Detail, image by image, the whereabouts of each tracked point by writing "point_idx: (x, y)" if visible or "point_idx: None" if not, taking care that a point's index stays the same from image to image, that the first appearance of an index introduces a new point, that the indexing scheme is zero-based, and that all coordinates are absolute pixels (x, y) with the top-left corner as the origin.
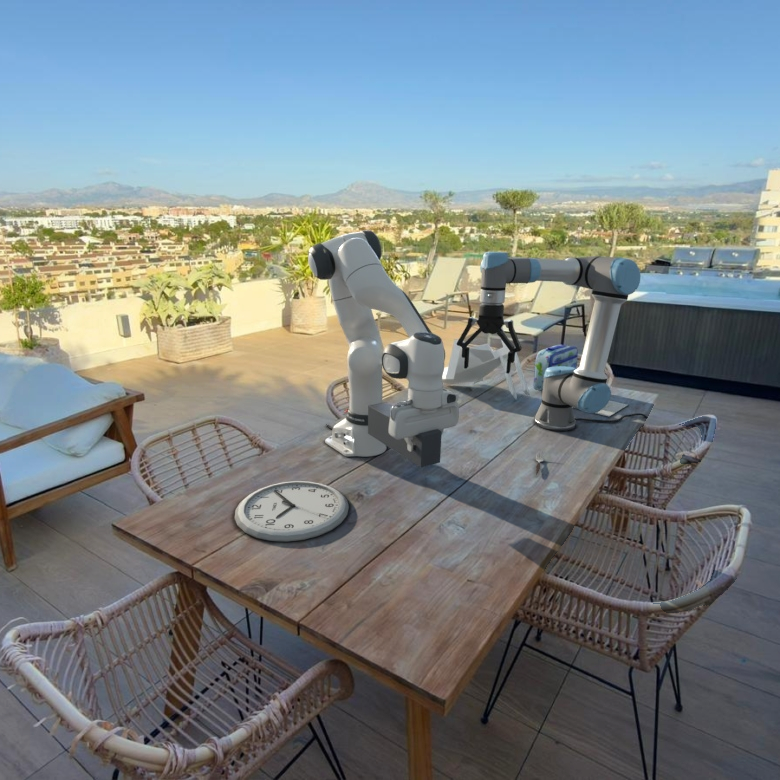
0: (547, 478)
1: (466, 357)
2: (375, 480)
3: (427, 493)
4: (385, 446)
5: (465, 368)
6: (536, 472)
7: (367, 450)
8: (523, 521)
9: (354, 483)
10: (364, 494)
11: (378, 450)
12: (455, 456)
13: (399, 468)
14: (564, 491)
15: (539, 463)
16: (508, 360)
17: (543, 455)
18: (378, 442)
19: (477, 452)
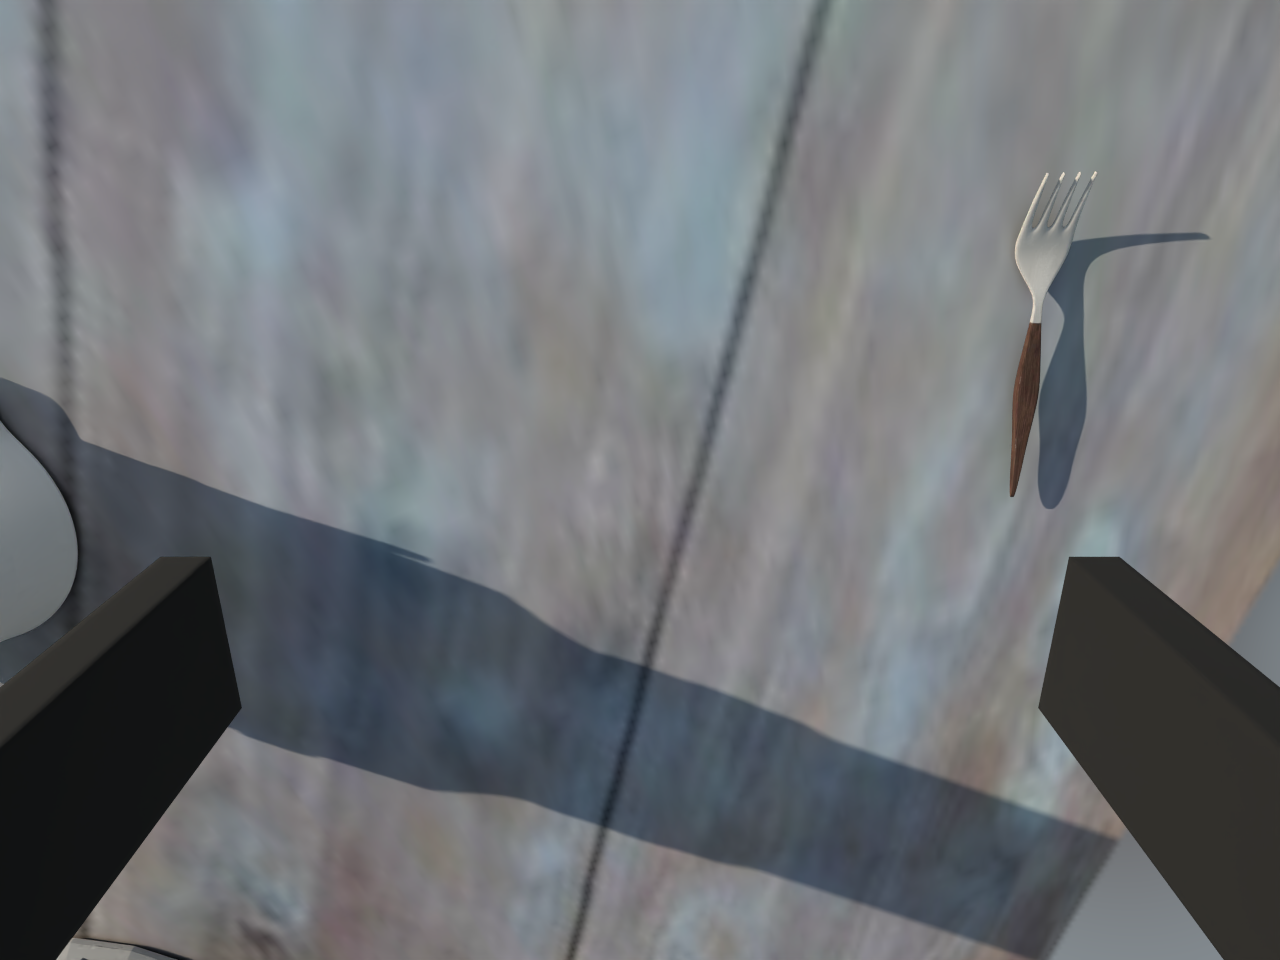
0: (1069, 485)
1: (88, 893)
2: (240, 819)
3: (510, 837)
4: (44, 505)
5: (224, 707)
6: (1013, 477)
7: (4, 637)
8: (939, 888)
9: (174, 872)
10: (271, 928)
11: (51, 587)
12: (495, 409)
13: (272, 676)
14: None
15: (1039, 337)
16: (1231, 933)
17: (1078, 206)
18: (7, 601)
19: (611, 285)
